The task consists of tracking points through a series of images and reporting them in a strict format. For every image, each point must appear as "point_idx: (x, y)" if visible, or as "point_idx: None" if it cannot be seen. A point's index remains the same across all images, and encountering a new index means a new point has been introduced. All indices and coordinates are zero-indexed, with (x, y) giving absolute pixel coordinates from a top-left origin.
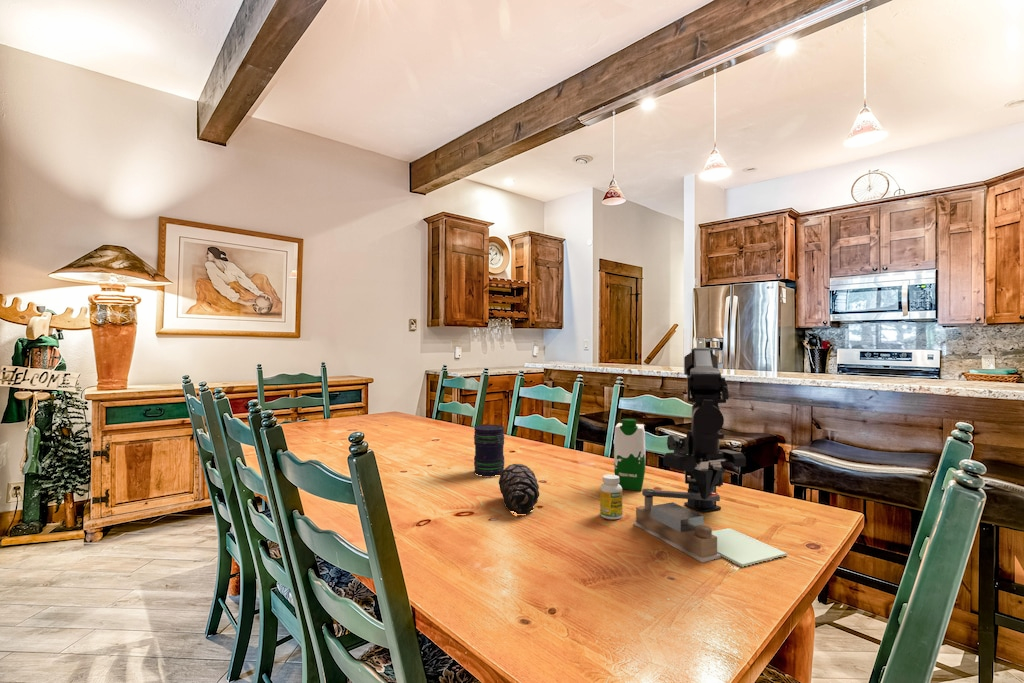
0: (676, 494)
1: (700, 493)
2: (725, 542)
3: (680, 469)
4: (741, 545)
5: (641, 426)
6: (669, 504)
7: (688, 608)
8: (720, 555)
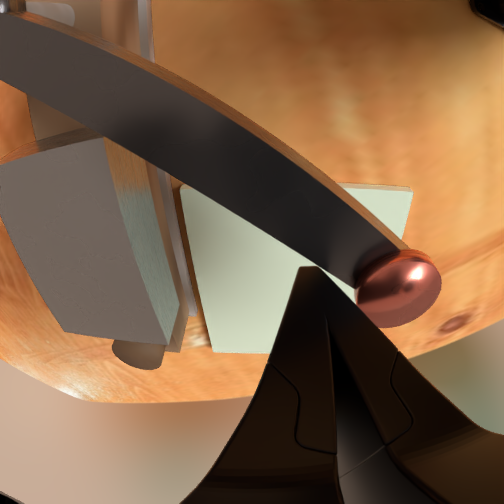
0: (118, 136)
1: (291, 294)
2: (278, 273)
3: (3, 498)
4: None
5: None
6: (65, 172)
7: (67, 360)
8: (195, 315)
